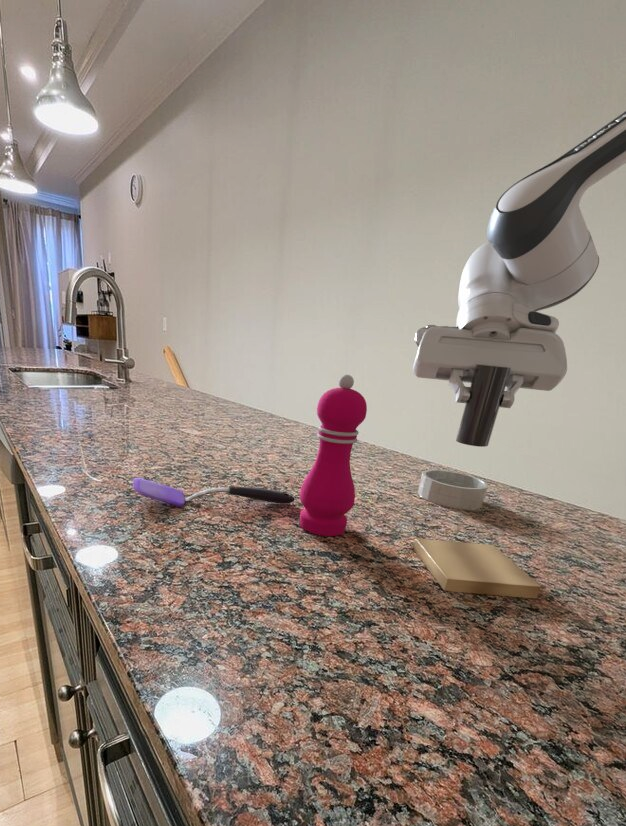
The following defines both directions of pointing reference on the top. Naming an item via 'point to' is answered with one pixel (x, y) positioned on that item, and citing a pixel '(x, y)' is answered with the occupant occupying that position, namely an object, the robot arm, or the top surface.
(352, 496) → the pepper mill
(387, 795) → the top surface
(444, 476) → the pan
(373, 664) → the top surface
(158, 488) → the spatula
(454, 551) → the board
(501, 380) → the black canister
